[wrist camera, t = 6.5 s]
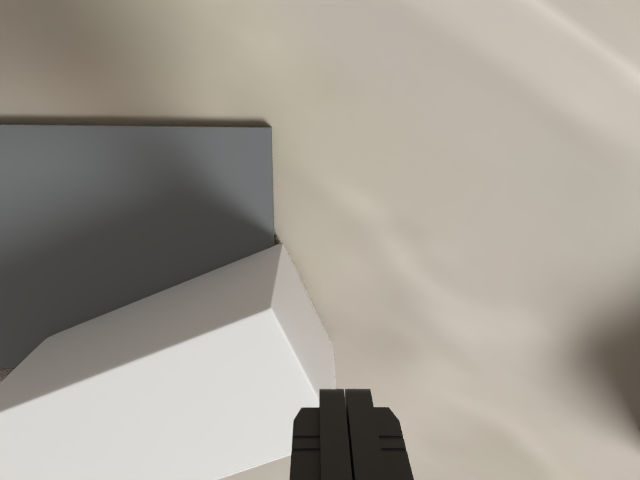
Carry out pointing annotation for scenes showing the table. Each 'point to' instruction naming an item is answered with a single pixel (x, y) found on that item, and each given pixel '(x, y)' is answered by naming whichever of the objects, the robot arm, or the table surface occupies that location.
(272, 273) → the milk carton
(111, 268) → the mat
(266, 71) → the table surface
